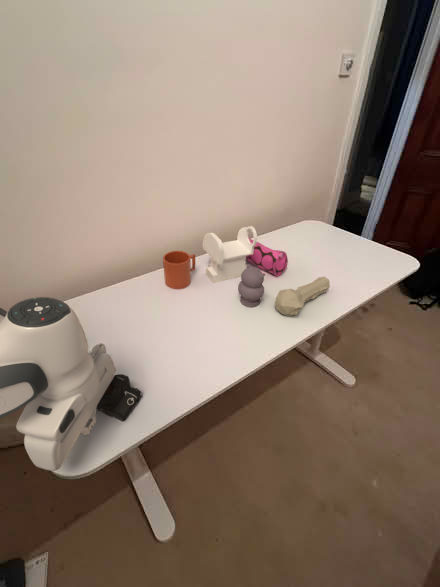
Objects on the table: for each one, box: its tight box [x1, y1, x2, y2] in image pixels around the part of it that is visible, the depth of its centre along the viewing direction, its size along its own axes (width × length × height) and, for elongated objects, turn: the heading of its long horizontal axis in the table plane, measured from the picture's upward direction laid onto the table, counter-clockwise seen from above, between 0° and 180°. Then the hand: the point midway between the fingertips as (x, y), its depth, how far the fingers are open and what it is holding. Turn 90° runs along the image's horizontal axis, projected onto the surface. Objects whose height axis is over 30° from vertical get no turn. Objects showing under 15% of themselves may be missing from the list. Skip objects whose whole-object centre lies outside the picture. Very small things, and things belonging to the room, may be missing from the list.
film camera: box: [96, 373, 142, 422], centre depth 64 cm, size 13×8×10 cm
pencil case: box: [246, 235, 289, 277], centre depth 111 cm, size 21×10×10 cm, turn 45°
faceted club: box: [274, 276, 331, 316], centre depth 95 cm, size 9×8×25 cm
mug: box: [162, 250, 196, 290], centre depth 101 cm, size 12×9×10 cm
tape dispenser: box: [202, 225, 258, 284], centre depth 102 cm, size 14×13×18 cm
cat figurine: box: [237, 263, 266, 308], centre depth 92 cm, size 8×8×12 cm
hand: (88, 427), depth 58 cm, fingers closed
